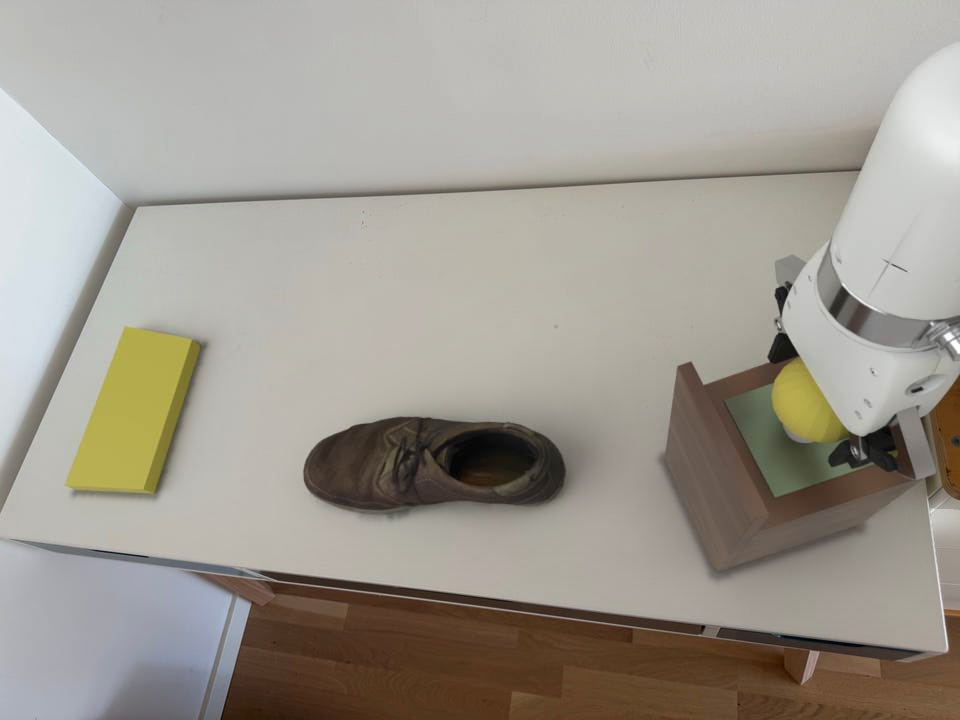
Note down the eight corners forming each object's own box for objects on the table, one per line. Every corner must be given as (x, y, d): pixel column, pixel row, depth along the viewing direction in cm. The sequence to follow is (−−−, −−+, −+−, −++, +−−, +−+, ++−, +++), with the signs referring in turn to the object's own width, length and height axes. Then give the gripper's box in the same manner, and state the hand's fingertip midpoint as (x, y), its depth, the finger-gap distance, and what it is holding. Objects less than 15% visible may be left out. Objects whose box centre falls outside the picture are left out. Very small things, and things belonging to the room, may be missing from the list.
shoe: (331, 416, 84) (297, 384, 76) (571, 437, 76) (563, 404, 68) (306, 507, 79) (266, 484, 71) (560, 539, 72) (550, 519, 63)
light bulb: (857, 411, 53) (901, 357, 45) (829, 482, 51) (870, 440, 43) (774, 380, 56) (800, 323, 47) (744, 446, 54) (766, 400, 45)
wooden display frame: (794, 413, 72) (861, 301, 51) (859, 525, 66) (964, 449, 45) (664, 458, 73) (677, 365, 52) (715, 572, 67) (753, 520, 46)
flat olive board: (154, 493, 85) (205, 331, 95) (143, 489, 83) (196, 324, 93) (76, 489, 88) (134, 333, 98) (64, 485, 86) (124, 325, 96)
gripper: (1093, 395, 29) (936, 495, 45) (875, 138, 38) (806, 296, 53) (930, 450, 30) (830, 530, 45) (751, 183, 38) (717, 327, 53)
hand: (817, 403), depth 49 cm, fingers open, 8 cm apart
